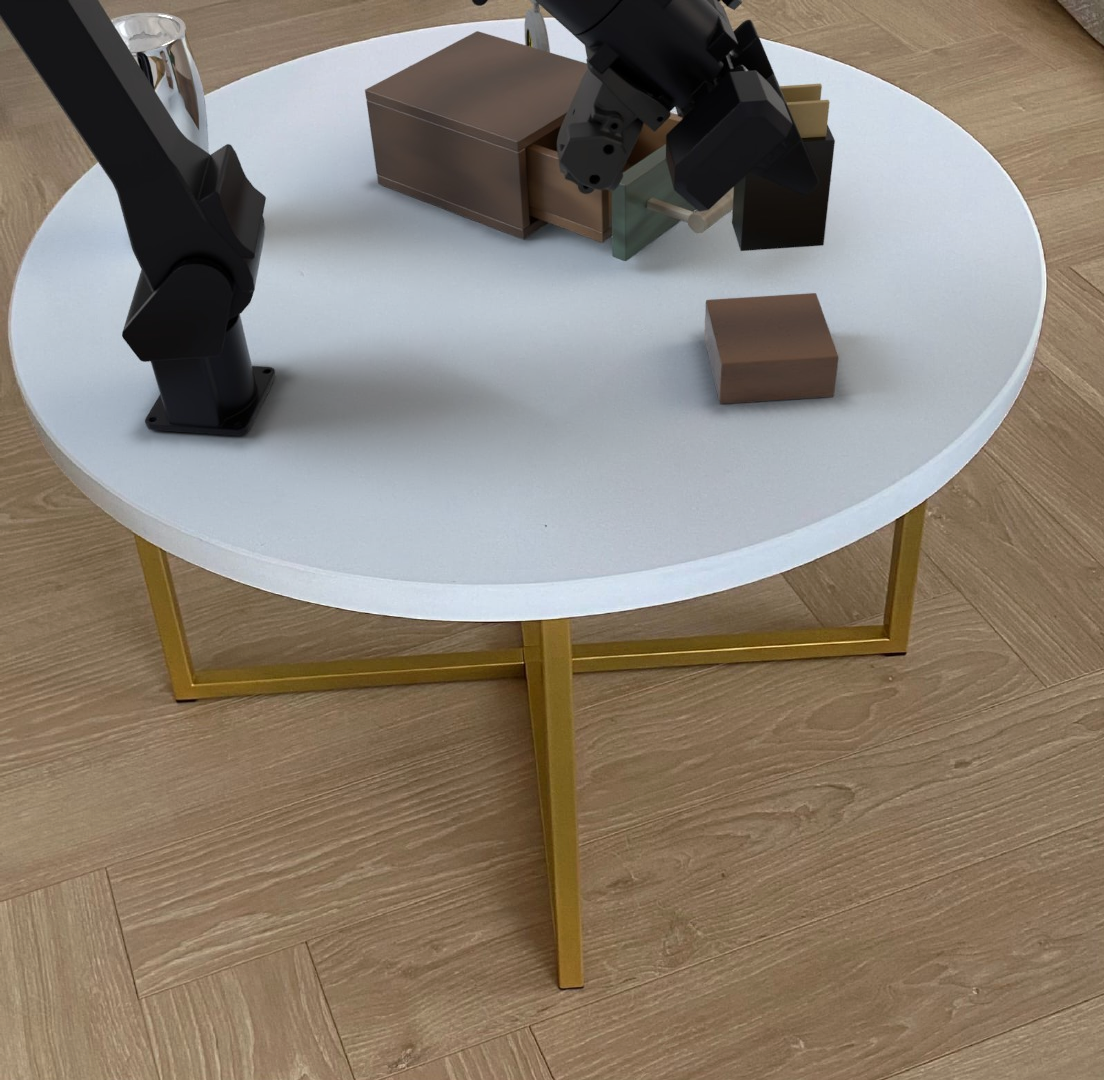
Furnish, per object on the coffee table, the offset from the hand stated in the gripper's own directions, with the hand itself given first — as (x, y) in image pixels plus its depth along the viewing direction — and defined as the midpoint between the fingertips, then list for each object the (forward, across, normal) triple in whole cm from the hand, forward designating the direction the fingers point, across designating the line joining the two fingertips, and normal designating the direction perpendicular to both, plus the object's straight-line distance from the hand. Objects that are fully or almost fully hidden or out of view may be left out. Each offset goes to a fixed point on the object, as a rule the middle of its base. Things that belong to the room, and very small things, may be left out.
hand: (806, 173), depth 76 cm
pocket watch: (+1, -40, -17) cm, 43 cm away
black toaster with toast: (+2, 0, -4) cm, 4 cm away
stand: (+8, 0, -10) cm, 13 cm away
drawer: (+3, -19, -15) cm, 24 cm away
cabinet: (-3, -27, -21) cm, 34 cm away
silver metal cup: (-19, -21, -38) cm, 48 cm away
